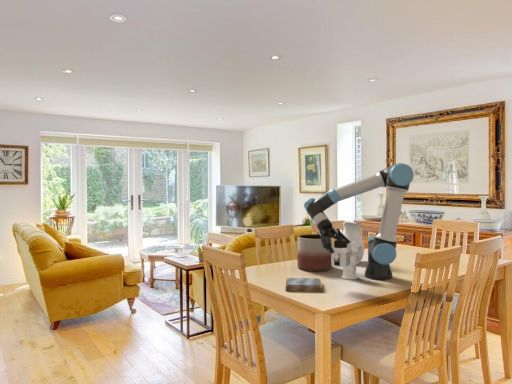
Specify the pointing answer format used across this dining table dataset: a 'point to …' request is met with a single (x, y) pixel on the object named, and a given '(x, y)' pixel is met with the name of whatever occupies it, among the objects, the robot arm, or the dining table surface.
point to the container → (341, 254)
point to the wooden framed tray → (303, 284)
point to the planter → (313, 253)
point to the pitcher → (354, 235)
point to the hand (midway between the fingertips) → (345, 256)
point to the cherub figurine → (352, 263)
